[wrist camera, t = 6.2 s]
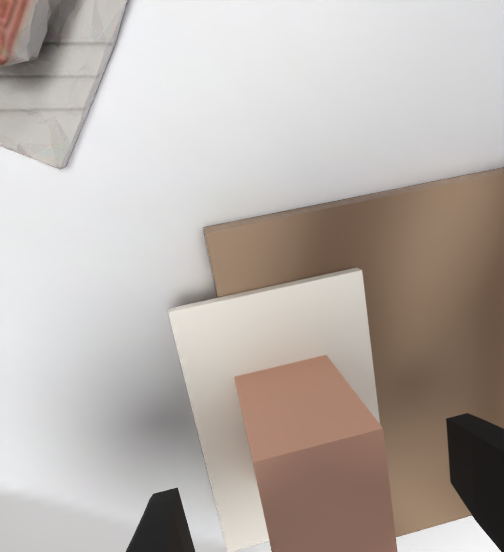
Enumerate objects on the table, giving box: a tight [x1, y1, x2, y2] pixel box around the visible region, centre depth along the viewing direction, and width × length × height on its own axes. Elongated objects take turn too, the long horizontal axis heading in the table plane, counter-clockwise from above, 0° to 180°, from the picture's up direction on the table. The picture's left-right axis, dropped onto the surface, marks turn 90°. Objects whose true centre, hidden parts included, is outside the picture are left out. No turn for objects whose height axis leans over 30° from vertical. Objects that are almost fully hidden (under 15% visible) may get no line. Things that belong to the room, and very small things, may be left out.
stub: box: [168, 268, 397, 552], centre depth 12 cm, size 6×9×4 cm, turn 10°
